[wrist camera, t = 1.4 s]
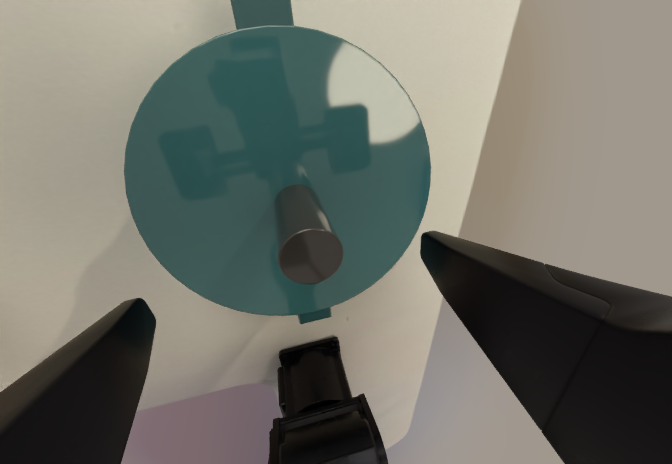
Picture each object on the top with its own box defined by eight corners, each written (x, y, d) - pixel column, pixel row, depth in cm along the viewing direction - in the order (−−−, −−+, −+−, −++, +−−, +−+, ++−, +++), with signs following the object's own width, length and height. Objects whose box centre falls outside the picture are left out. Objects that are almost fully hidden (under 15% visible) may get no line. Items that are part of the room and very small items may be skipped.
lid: (431, 19, 13) (553, -31, 7) (413, 276, 20) (467, 345, 15) (61, 43, 10) (-161, -5, 5) (197, 325, 18) (168, 429, 12)
